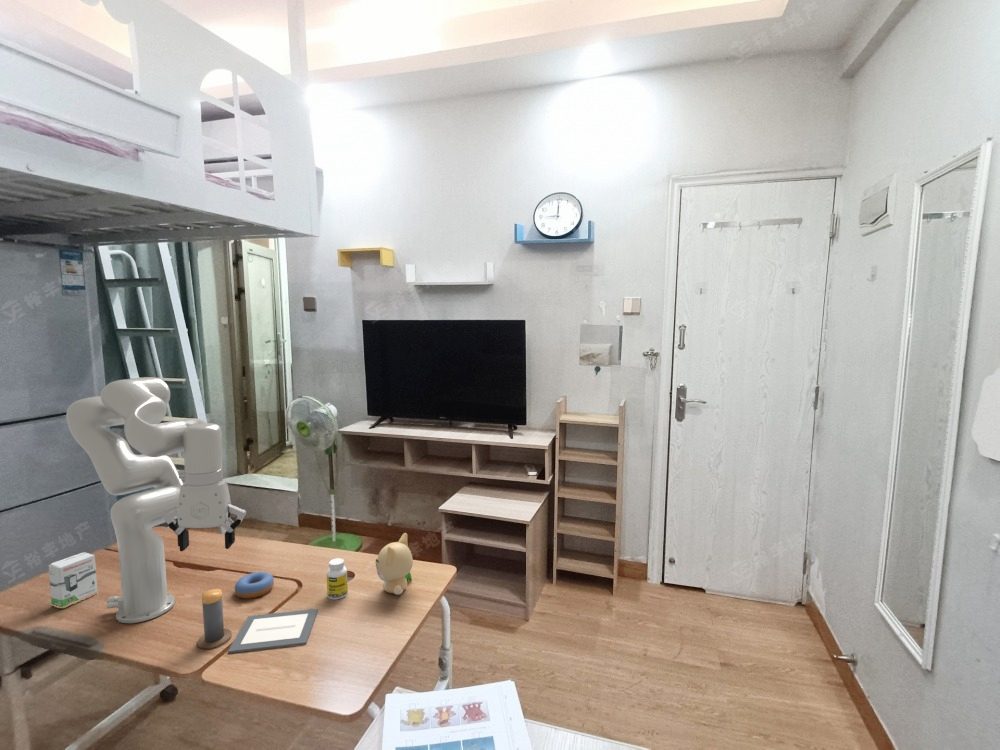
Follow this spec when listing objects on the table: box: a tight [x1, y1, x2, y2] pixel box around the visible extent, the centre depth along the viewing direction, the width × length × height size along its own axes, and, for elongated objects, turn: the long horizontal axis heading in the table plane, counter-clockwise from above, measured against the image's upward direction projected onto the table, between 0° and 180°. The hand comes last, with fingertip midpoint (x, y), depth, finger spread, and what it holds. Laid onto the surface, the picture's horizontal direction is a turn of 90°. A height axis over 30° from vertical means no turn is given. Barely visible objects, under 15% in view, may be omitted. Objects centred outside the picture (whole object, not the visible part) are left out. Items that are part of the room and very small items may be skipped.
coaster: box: [197, 627, 233, 650], centre depth 115 cm, size 7×7×1 cm
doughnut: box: [234, 571, 275, 600], centre depth 137 cm, size 10×10×5 cm
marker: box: [201, 588, 225, 643], centre depth 114 cm, size 4×4×11 cm
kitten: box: [375, 532, 414, 596], centre depth 136 cm, size 15×10×15 cm, turn 164°
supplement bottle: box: [326, 557, 349, 600], centre depth 134 cm, size 5×5×10 cm
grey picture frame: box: [227, 608, 319, 654], centre depth 118 cm, size 17×14×1 cm
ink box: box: [48, 551, 98, 607], centre depth 132 cm, size 9×5×12 cm, turn 159°
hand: (207, 547), depth 113 cm, fingers open, 9 cm apart
